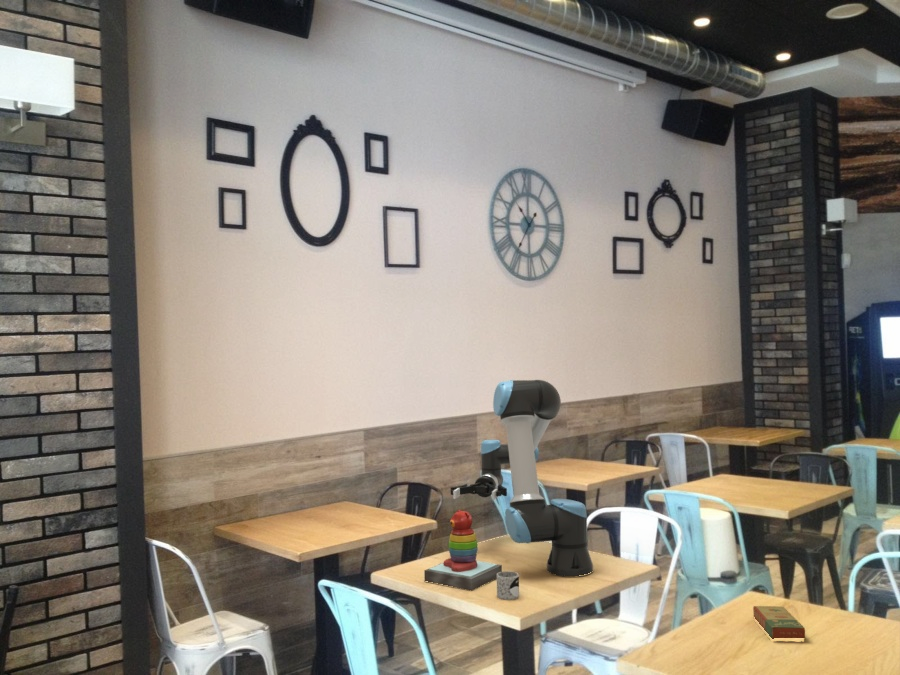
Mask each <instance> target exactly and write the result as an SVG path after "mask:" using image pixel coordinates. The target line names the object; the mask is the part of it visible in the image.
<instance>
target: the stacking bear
mask: <svg viewBox="0 0 900 675" xmlns="http://www.w3.org/2000/svg"><path fill="white" fill-rule="evenodd" d="M449 524H450V526H451V527H452V530H451V531H450V532H451V533H450V535H449V540H448V552H449V556H450V558H446V559H445V560H444V561H443V562H442V563H443V565H444V566H447V567H451V568H452V571H454V572H462V571H468V570H471V569H474V568H476V567H477V562H476V561H477V560H476V558H477V554H478V549H479V547H478V540H477V535H476V533H475V531H474V529H472V528H471V527H472V524H473V517H472V515H471V514H470V512H469V511H465V510H464V511H463V510H460V509H457V511H456V512H454V513H453V515H452V517H451V518H450V521H449Z"/></svg>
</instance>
